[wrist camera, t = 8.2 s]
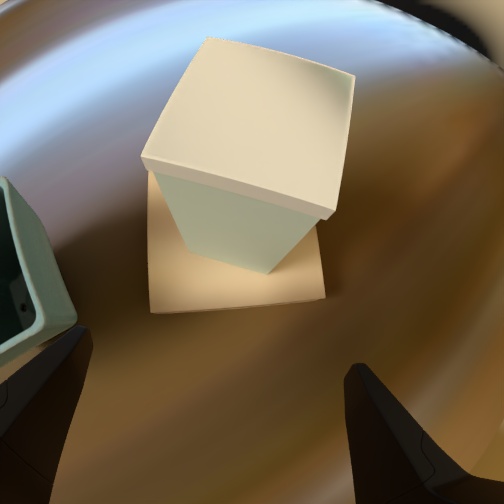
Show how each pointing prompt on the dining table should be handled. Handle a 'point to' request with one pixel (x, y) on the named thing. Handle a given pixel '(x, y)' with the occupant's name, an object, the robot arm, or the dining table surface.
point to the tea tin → (251, 151)
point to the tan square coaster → (221, 271)
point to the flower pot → (28, 280)
